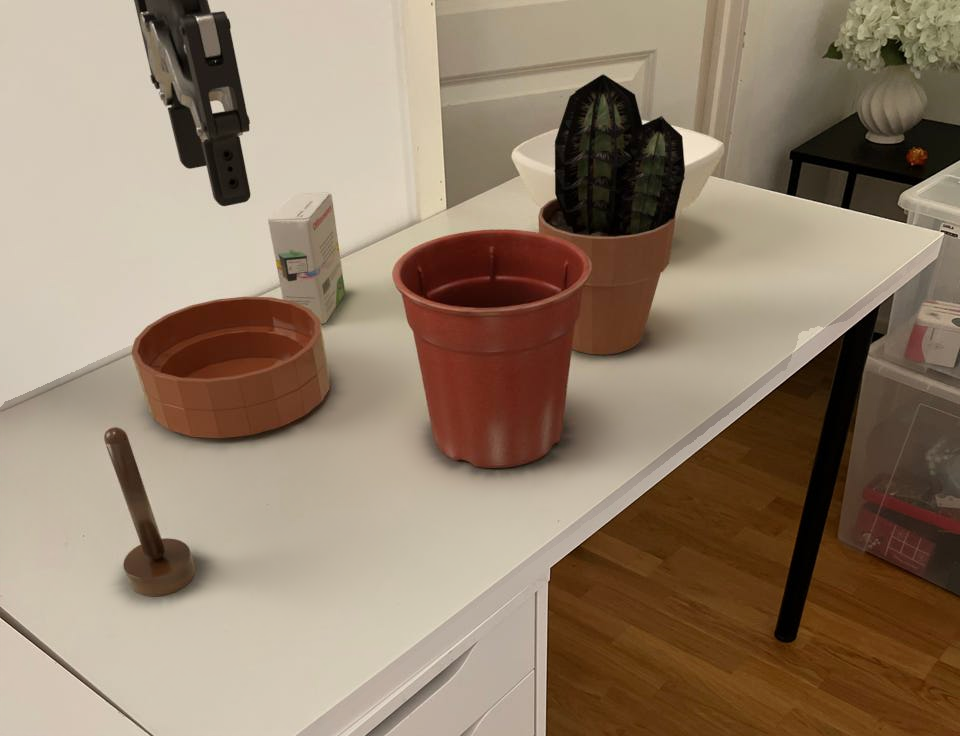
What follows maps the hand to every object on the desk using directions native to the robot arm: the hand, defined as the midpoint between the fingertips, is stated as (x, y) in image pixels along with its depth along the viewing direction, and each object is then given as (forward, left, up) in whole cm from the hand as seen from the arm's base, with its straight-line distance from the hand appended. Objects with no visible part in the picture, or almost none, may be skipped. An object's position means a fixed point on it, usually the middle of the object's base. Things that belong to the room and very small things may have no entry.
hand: (215, 183), depth 64 cm
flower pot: (+3, +22, -28) cm, 35 cm away
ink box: (-33, +28, -28) cm, 51 cm away
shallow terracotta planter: (-22, +10, -27) cm, 36 cm away
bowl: (-19, +65, -28) cm, 73 cm away
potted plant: (-3, +44, -28) cm, 52 cm away
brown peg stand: (-2, -11, -27) cm, 30 cm away
